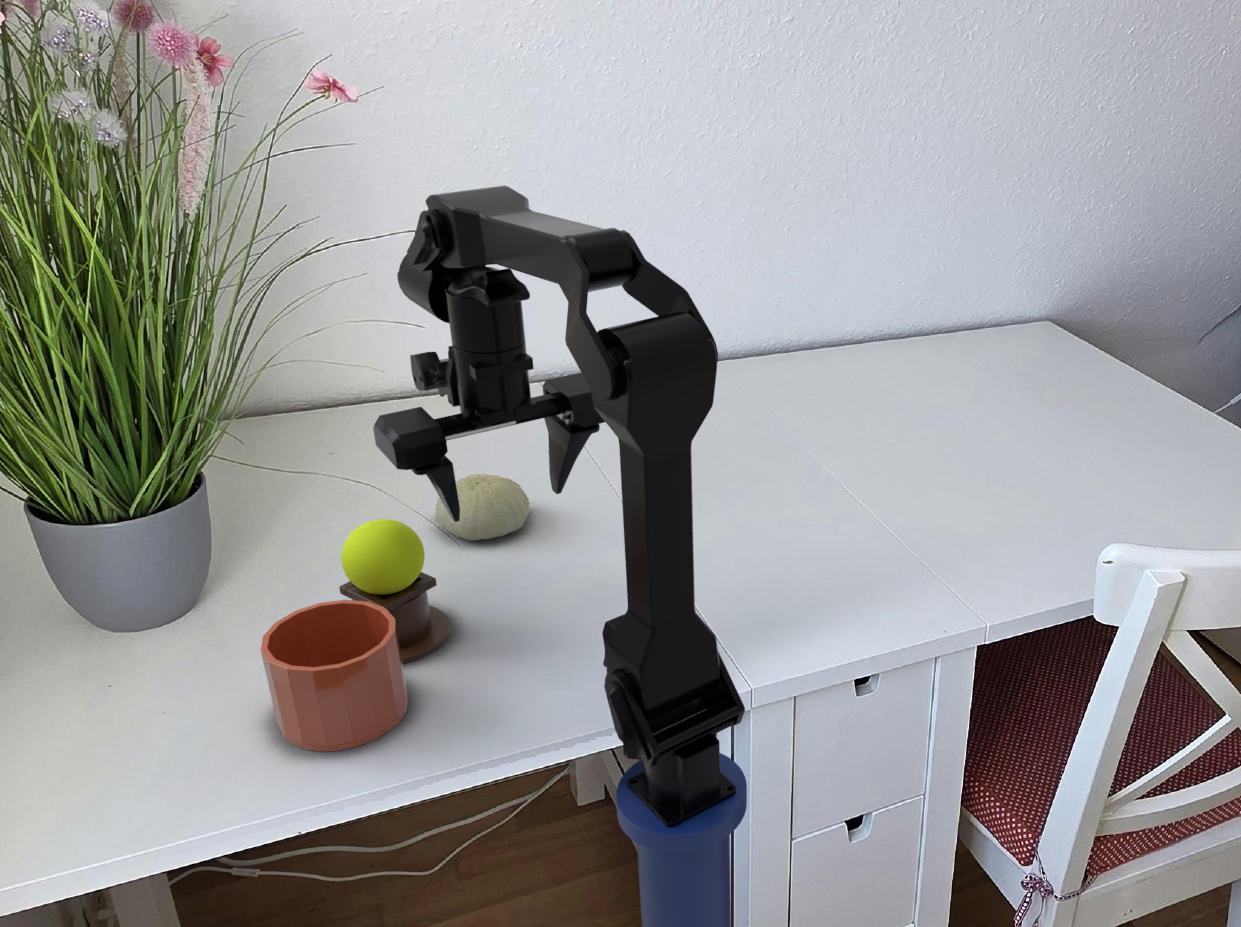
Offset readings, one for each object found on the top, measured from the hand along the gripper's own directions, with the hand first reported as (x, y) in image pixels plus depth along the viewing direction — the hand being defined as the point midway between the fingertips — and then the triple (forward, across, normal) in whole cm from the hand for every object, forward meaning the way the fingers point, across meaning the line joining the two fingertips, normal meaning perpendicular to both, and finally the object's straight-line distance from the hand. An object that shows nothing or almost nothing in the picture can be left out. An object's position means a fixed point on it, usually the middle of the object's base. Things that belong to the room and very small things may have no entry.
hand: (507, 505), depth 109 cm
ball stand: (+12, +10, -4) cm, 16 cm away
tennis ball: (+4, +10, -4) cm, 11 cm away
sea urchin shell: (+12, -4, -19) cm, 23 cm away
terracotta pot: (+12, +17, +5) cm, 21 cm away
